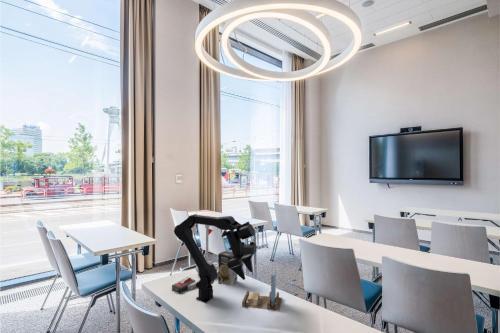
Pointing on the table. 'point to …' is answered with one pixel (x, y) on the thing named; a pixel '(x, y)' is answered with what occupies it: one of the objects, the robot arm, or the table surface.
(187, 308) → the table surface
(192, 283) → the walkie-talkie
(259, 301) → the rack
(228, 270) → the coffee box
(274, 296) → the board
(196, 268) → the flag stand
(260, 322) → the table surface
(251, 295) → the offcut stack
